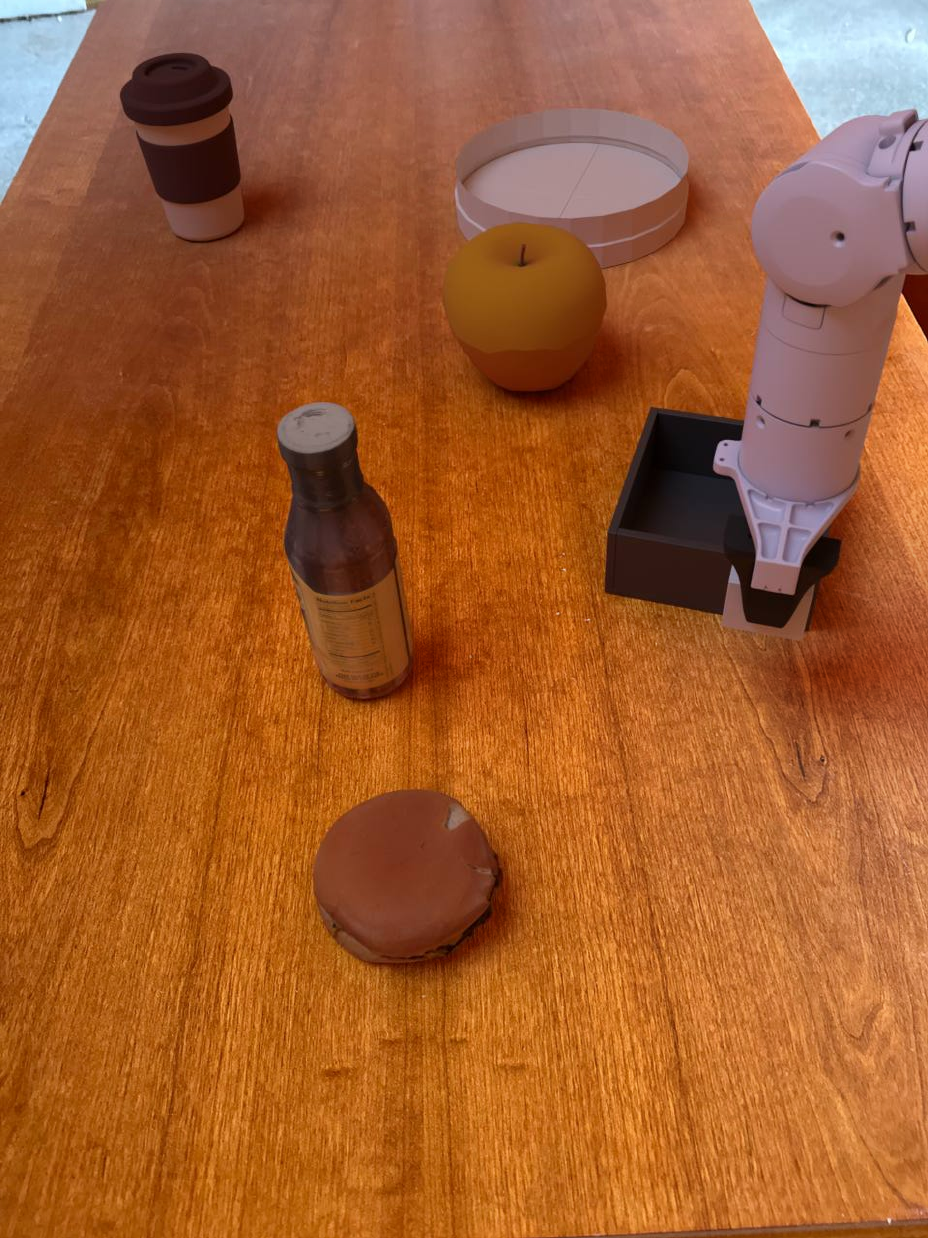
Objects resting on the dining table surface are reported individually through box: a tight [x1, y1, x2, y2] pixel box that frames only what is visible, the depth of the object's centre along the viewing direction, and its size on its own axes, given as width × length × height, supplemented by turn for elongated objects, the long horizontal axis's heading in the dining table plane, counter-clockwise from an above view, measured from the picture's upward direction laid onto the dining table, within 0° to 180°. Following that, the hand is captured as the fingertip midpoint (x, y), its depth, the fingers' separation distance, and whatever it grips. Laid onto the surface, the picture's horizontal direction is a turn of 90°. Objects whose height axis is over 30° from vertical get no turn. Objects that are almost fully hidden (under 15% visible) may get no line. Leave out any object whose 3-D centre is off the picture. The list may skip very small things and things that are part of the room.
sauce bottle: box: [276, 401, 414, 700], centre depth 65 cm, size 6×6×20 cm
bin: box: [604, 406, 832, 632], centre depth 76 cm, size 13×13×6 cm
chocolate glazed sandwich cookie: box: [312, 788, 504, 964], centre depth 60 cm, size 10×9×5 cm
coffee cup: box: [119, 52, 245, 242], centre depth 106 cm, size 10×10×15 cm
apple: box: [440, 222, 608, 392], centre depth 88 cm, size 13×13×11 cm
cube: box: [721, 565, 815, 642], centre depth 63 cm, size 4×4×4 cm
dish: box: [454, 107, 690, 270], centre depth 108 cm, size 22×22×5 cm
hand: (770, 590), depth 63 cm, fingers closed on cube, 4 cm apart
